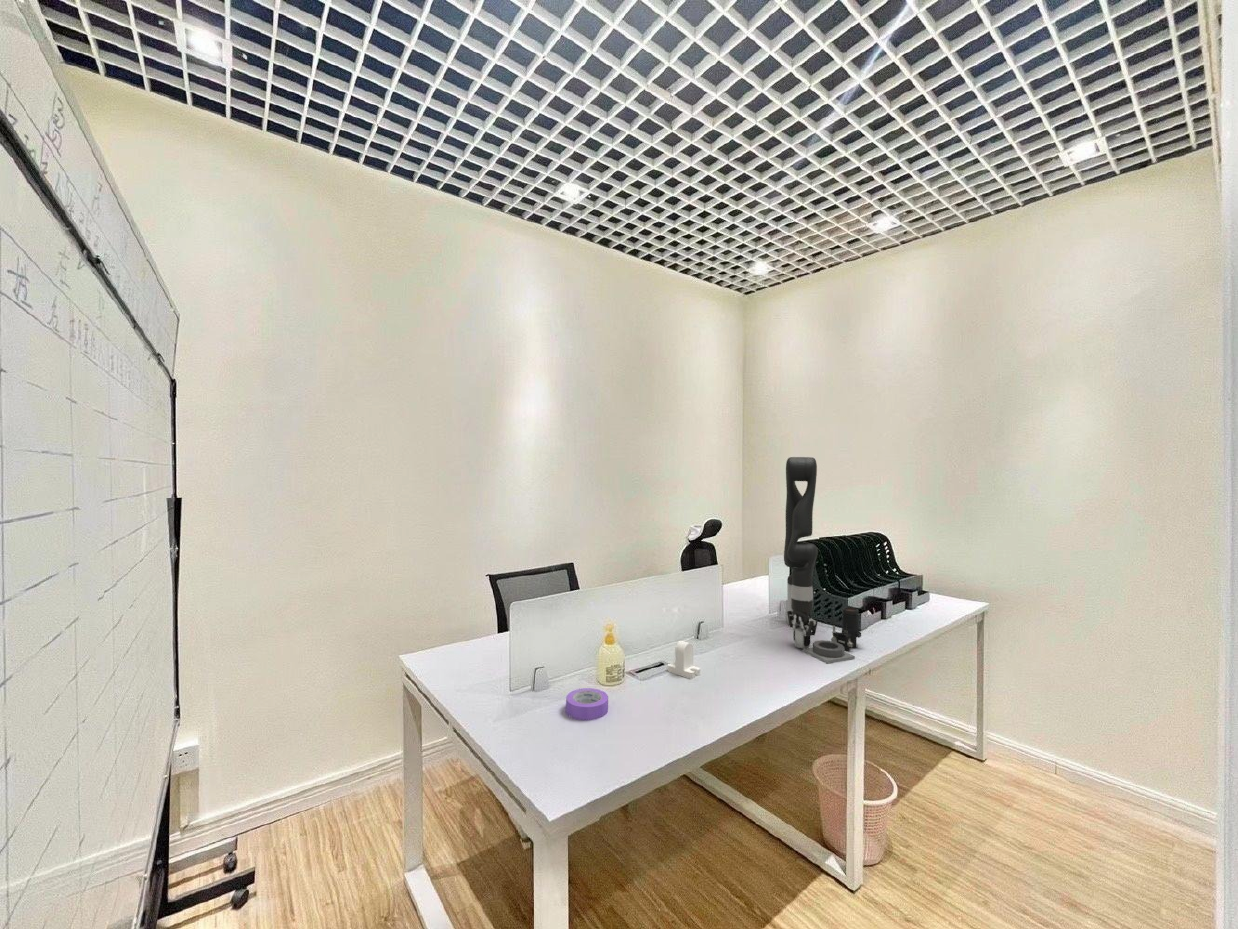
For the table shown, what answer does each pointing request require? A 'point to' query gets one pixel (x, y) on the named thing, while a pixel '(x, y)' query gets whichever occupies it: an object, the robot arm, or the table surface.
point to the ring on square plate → (828, 651)
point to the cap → (800, 638)
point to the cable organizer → (684, 661)
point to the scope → (848, 629)
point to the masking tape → (587, 704)
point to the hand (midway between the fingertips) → (801, 642)
